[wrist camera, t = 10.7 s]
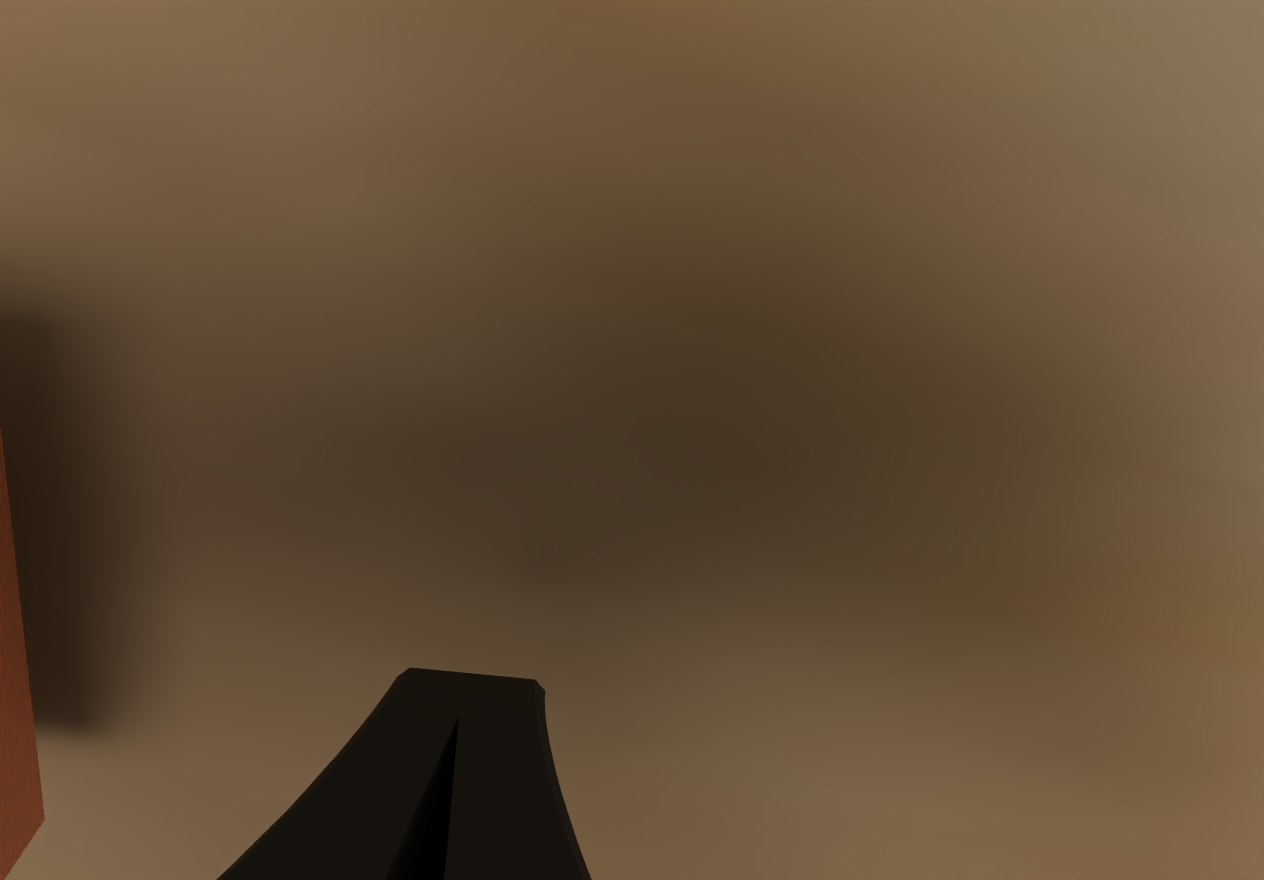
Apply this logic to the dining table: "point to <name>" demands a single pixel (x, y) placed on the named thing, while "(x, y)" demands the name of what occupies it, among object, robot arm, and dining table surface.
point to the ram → (14, 708)
